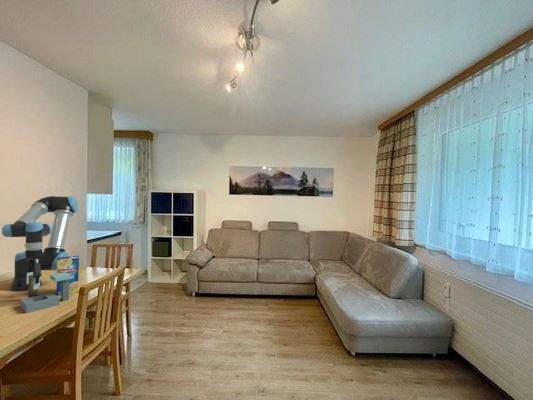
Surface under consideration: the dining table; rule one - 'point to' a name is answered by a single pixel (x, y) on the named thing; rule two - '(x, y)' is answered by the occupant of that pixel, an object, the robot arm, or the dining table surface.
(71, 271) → the beverage box
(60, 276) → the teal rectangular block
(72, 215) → the robot arm
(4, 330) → the dining table surface
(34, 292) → the walnut peg
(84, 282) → the dining table surface
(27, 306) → the socket block
